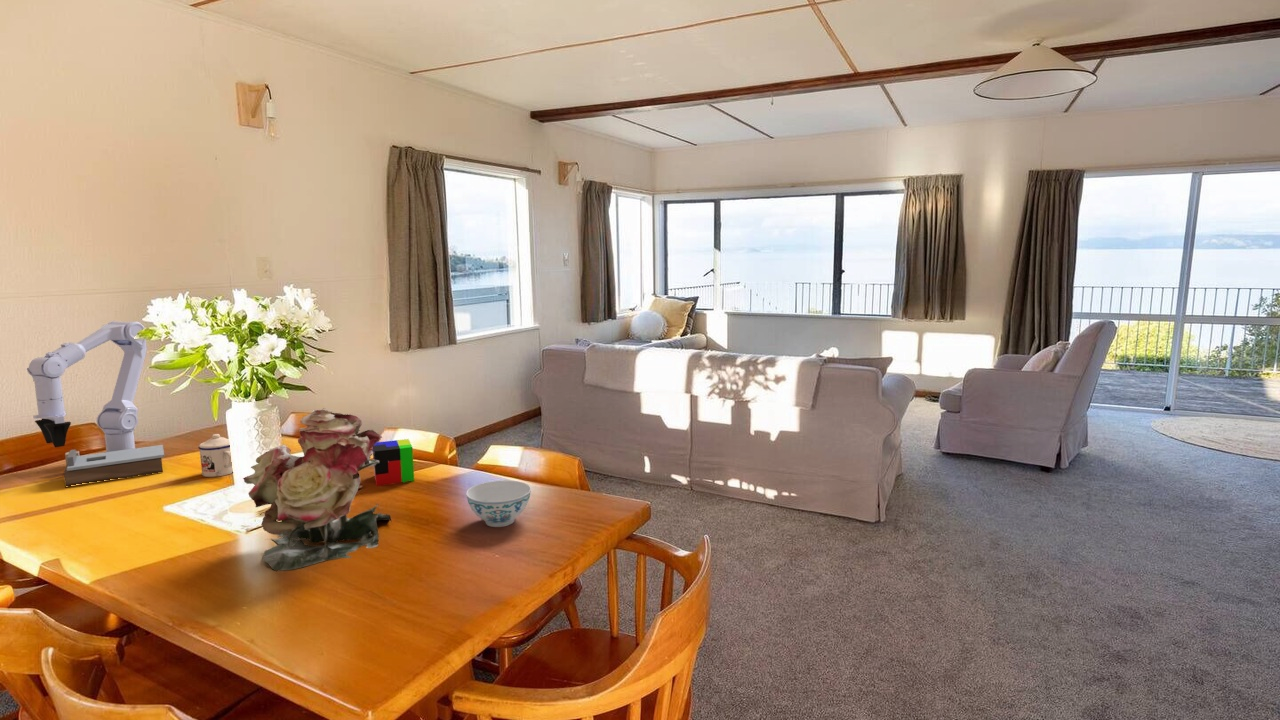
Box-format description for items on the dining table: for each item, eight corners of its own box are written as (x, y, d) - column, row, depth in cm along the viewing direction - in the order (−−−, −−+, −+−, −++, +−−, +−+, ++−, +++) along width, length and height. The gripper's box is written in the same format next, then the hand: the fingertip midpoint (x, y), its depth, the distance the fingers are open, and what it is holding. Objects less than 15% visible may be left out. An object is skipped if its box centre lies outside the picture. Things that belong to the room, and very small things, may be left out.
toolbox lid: (71, 459, 194) (69, 448, 194) (162, 447, 208) (161, 436, 207) (67, 471, 183) (65, 459, 183) (164, 457, 196) (163, 446, 196)
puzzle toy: (374, 476, 193) (372, 442, 191) (410, 471, 197) (408, 438, 195) (376, 486, 184) (374, 451, 182) (414, 481, 188) (412, 447, 186)
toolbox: (69, 475, 195) (67, 461, 194) (161, 461, 208) (160, 448, 207) (65, 487, 184) (63, 472, 183) (162, 472, 197) (161, 458, 196)
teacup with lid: (194, 474, 195) (190, 436, 193) (226, 466, 202) (223, 429, 201) (217, 481, 189) (213, 441, 187) (249, 472, 196) (245, 434, 195)
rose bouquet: (256, 533, 151) (244, 405, 147) (392, 515, 162) (385, 395, 158) (234, 582, 128) (219, 431, 123) (394, 557, 138) (386, 417, 134)
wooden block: (68, 472, 198) (65, 452, 197) (81, 470, 200) (79, 450, 199) (67, 474, 195) (64, 454, 195) (80, 472, 197) (78, 453, 196)
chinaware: (517, 536, 149) (516, 503, 148) (456, 531, 152) (454, 499, 151) (540, 512, 163) (539, 482, 162) (484, 508, 166) (482, 478, 165)
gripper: (24, 398, 191) (30, 443, 193) (39, 403, 183) (44, 451, 185) (56, 394, 197) (61, 438, 199) (71, 399, 189) (76, 446, 191)
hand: (55, 444), depth 192 cm, fingers open, 7 cm apart
